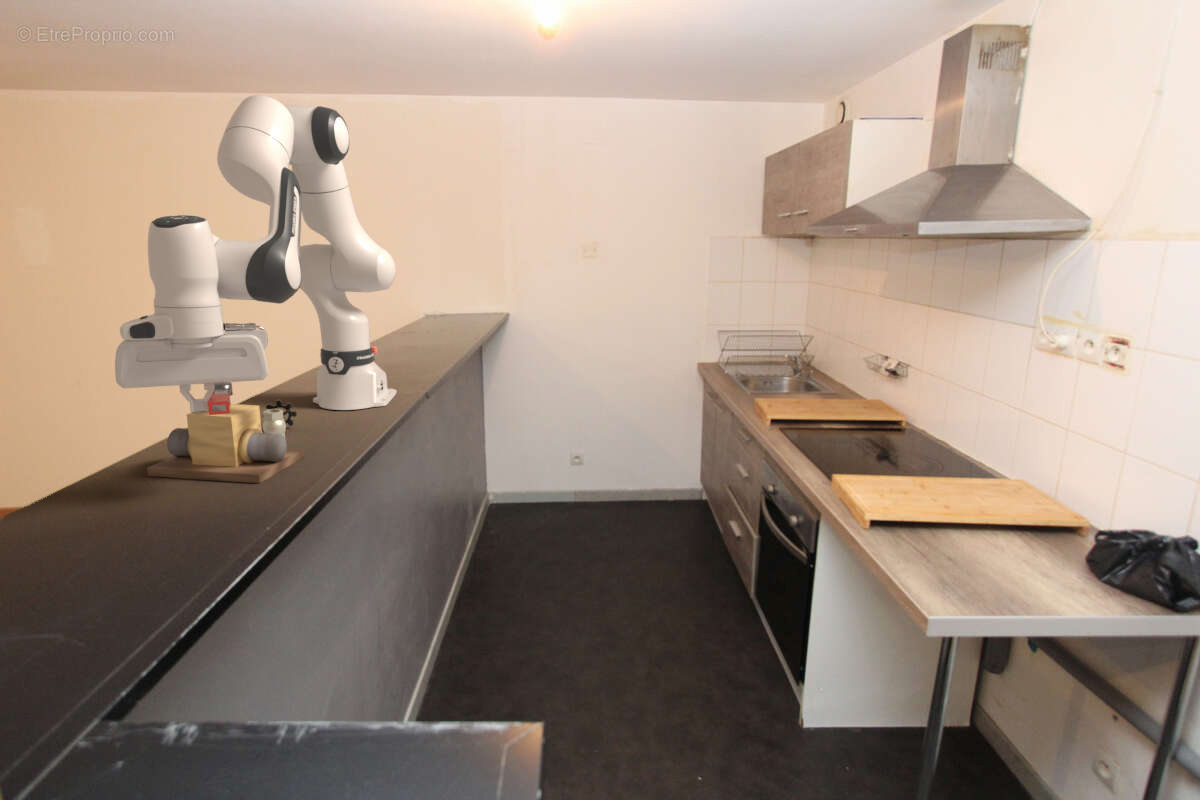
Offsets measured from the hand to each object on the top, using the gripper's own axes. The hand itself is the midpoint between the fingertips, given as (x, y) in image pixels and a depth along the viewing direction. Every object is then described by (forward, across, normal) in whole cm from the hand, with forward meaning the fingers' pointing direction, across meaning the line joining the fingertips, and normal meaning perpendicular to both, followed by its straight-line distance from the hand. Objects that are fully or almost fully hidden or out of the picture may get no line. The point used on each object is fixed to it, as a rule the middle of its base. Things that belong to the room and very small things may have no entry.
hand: (200, 410), depth 102 cm
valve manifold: (+13, -3, -11) cm, 17 cm away
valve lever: (0, -3, -5) cm, 5 cm away
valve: (+13, -12, -27) cm, 33 cm away
